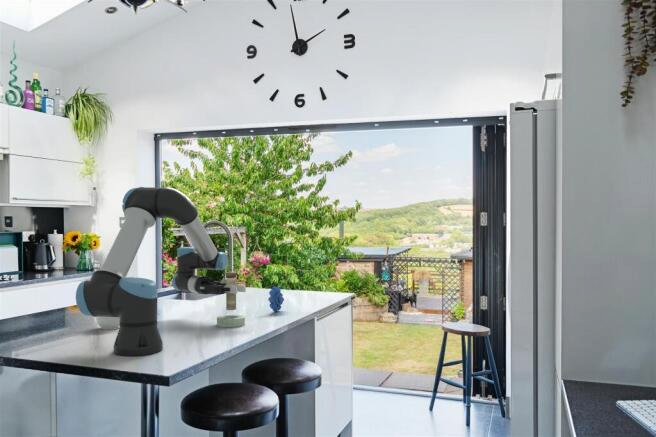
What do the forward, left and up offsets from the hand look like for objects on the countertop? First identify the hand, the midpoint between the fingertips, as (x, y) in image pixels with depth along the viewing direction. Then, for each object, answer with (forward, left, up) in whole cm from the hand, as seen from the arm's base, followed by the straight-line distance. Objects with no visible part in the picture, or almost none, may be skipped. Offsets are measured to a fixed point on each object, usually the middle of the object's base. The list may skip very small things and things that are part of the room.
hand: (240, 289), depth 219 cm
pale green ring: (+2, +5, -15) cm, 16 cm away
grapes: (+34, -3, -15) cm, 37 cm away
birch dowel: (+2, +5, -8) cm, 10 cm away
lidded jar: (-18, +47, -15) cm, 53 cm away
